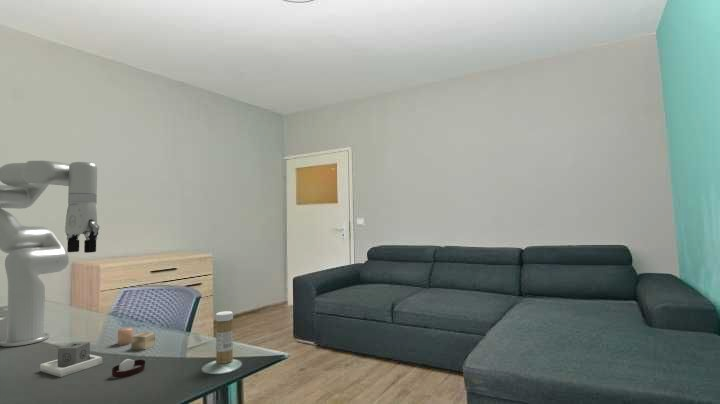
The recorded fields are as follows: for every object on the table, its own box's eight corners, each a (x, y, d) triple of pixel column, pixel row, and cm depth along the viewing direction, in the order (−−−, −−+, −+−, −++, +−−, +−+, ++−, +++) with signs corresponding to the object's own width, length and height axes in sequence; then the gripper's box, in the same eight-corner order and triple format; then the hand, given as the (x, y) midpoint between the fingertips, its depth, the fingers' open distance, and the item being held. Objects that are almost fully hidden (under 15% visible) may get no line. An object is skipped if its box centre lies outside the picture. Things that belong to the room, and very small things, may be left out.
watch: (141, 367, 102) (141, 353, 102) (148, 371, 99) (148, 357, 99) (108, 376, 96) (109, 362, 96) (115, 381, 93) (115, 366, 93)
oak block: (131, 349, 117) (131, 336, 117) (141, 345, 121) (141, 332, 121) (145, 350, 116) (145, 336, 116) (154, 345, 120) (154, 333, 120)
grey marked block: (89, 360, 105) (89, 342, 106) (75, 367, 100) (76, 348, 101) (72, 360, 105) (72, 342, 106) (57, 367, 100) (57, 348, 101)
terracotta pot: (114, 344, 122) (114, 330, 123) (127, 340, 126) (128, 326, 127) (122, 345, 120) (122, 331, 121) (136, 341, 124) (136, 328, 125)
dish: (40, 371, 100) (40, 364, 100) (81, 358, 109) (81, 352, 109) (60, 377, 96) (60, 370, 96) (101, 363, 105) (102, 357, 105)
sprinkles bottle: (231, 357, 107) (231, 309, 108) (234, 362, 103) (233, 313, 104) (214, 360, 105) (214, 311, 106) (216, 365, 101) (216, 315, 102)
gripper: (55, 200, 123) (53, 252, 122) (85, 197, 116) (83, 253, 115) (80, 201, 130) (79, 251, 129) (110, 199, 122) (109, 251, 122)
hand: (81, 252), depth 122 cm, fingers open, 9 cm apart
